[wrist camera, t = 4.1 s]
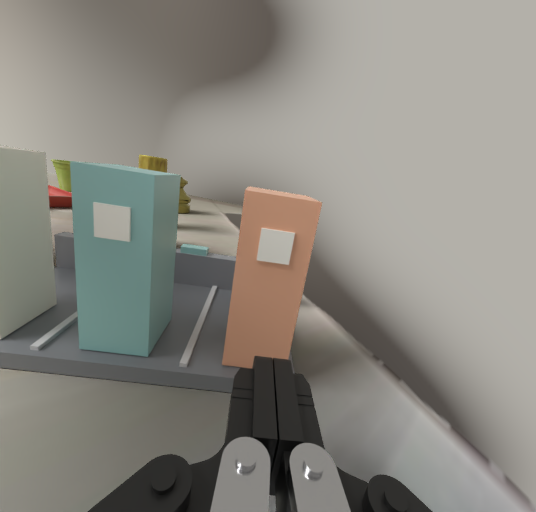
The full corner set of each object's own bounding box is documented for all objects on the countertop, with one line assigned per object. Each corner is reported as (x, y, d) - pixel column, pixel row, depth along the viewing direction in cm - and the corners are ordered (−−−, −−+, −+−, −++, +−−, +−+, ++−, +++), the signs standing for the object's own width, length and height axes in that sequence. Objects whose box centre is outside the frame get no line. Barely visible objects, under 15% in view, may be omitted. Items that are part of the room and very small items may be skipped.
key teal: (146, 358, 18) (153, 175, 15) (77, 350, 18) (68, 161, 14) (171, 318, 23) (180, 175, 19) (117, 311, 23) (117, 164, 19)
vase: (141, 221, 60) (143, 155, 56) (169, 224, 61) (172, 160, 57) (130, 226, 55) (131, 153, 51) (161, 230, 55) (164, 158, 51)
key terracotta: (285, 373, 19) (322, 202, 15) (221, 366, 18) (245, 190, 15) (280, 332, 24) (307, 196, 20) (229, 325, 23) (248, 186, 20)
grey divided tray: (293, 399, 18) (309, 330, 17) (-102, 356, 16) (-125, 274, 15) (278, 300, 33) (286, 258, 31) (66, 272, 31) (64, 225, 29)
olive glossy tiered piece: (193, 212, 83) (196, 179, 80) (183, 214, 76) (185, 178, 73) (171, 207, 84) (173, 175, 81) (158, 210, 76) (160, 174, 74)
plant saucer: (50, 196, 72) (49, 184, 71) (84, 209, 63) (83, 195, 63) (-52, 194, 57) (-55, 178, 56) (-26, 211, 48) (-29, 192, 47)
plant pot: (78, 194, 80) (76, 164, 78) (45, 189, 79) (42, 158, 77) (96, 192, 89) (95, 165, 87) (66, 187, 88) (65, 160, 86)
